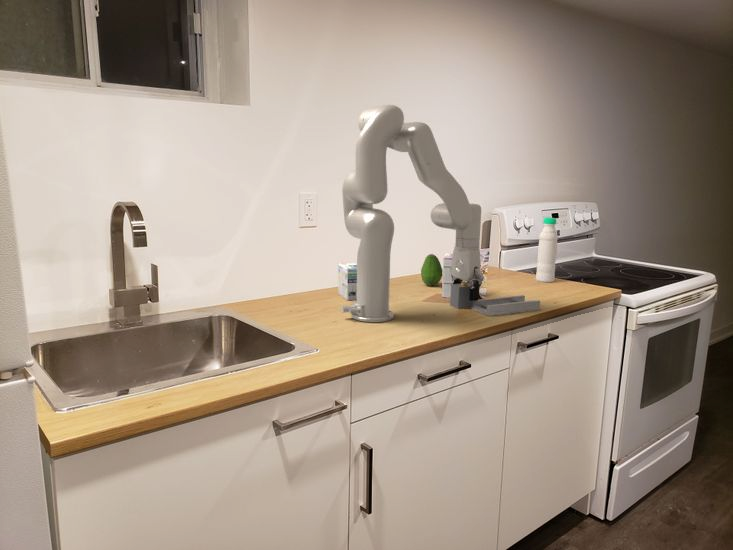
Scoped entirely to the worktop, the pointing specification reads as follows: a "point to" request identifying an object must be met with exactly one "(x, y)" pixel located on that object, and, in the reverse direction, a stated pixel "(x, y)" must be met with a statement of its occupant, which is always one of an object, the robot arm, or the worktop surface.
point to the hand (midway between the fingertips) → (465, 296)
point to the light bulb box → (347, 280)
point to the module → (460, 295)
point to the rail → (505, 305)
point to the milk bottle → (547, 251)
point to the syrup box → (447, 276)
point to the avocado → (431, 270)
